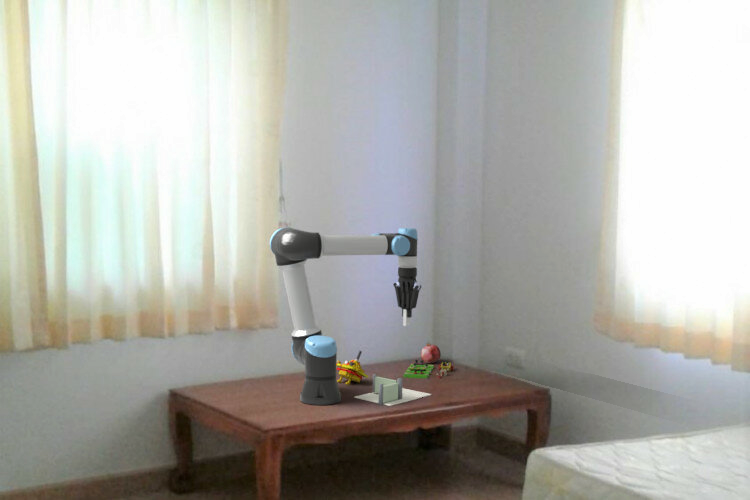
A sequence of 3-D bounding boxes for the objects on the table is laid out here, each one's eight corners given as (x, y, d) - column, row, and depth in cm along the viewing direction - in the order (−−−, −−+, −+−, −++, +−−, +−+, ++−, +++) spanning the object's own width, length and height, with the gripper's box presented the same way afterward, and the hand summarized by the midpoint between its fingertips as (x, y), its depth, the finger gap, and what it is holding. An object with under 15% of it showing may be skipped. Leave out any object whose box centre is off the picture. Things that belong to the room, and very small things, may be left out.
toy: (327, 377, 370) (341, 344, 374) (343, 386, 376) (357, 353, 380) (348, 383, 360) (363, 348, 364) (364, 392, 366) (378, 358, 370)
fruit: (442, 361, 416) (442, 339, 415) (438, 365, 407) (439, 343, 406) (422, 360, 418) (422, 338, 418) (418, 364, 409) (419, 342, 408)
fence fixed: (381, 405, 333) (381, 383, 332) (377, 404, 334) (377, 382, 334) (403, 399, 342) (403, 378, 342) (399, 398, 343) (399, 377, 343)
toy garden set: (410, 367, 404) (410, 357, 403) (453, 369, 400) (454, 359, 400) (403, 378, 381) (403, 367, 381) (448, 380, 378) (449, 370, 378)
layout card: (389, 406, 332) (389, 404, 332) (354, 397, 344) (354, 396, 344) (431, 395, 350) (431, 394, 350) (396, 387, 362) (396, 386, 362)
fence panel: (397, 396, 344) (397, 378, 343) (395, 396, 342) (395, 379, 342) (374, 391, 351) (374, 373, 351) (371, 391, 350) (372, 374, 350)
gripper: (426, 267, 361) (425, 326, 363) (401, 265, 370) (400, 322, 371) (414, 268, 355) (413, 328, 357) (389, 266, 364) (388, 324, 366)
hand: (406, 325), depth 364 cm, fingers closed
